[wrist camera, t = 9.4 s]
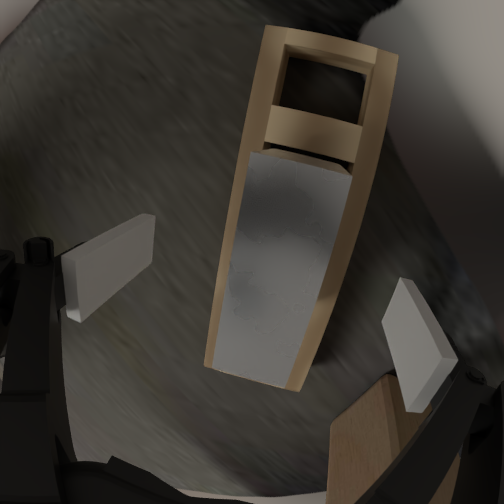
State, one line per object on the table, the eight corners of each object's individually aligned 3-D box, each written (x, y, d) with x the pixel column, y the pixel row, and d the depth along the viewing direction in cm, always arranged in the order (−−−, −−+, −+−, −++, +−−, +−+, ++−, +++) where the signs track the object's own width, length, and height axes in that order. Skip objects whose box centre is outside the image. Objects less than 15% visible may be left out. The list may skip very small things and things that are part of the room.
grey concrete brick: (255, 276, 27) (211, 367, 16) (283, 147, 23) (250, 151, 12) (300, 288, 26) (284, 388, 15) (334, 159, 22) (352, 176, 11)
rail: (214, 344, 30) (203, 365, 27) (272, 39, 20) (265, 24, 17) (302, 367, 29) (299, 392, 26) (388, 66, 19) (398, 55, 16)
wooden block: (327, 420, 31) (310, 580, 13) (385, 367, 27) (408, 558, 9) (387, 443, 31) (392, 580, 13) (444, 396, 27) (480, 548, 9)
